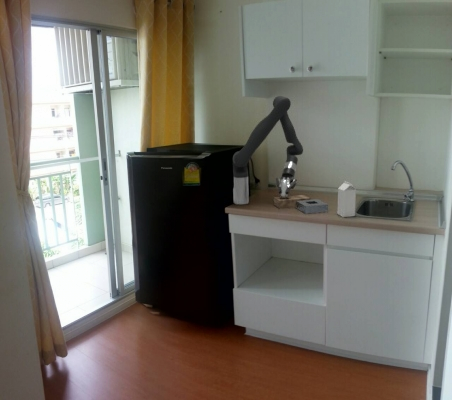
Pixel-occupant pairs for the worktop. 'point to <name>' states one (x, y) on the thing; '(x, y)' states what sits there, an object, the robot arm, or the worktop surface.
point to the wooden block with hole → (289, 201)
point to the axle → (284, 188)
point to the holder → (312, 206)
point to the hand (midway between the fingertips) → (283, 193)
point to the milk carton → (346, 200)
